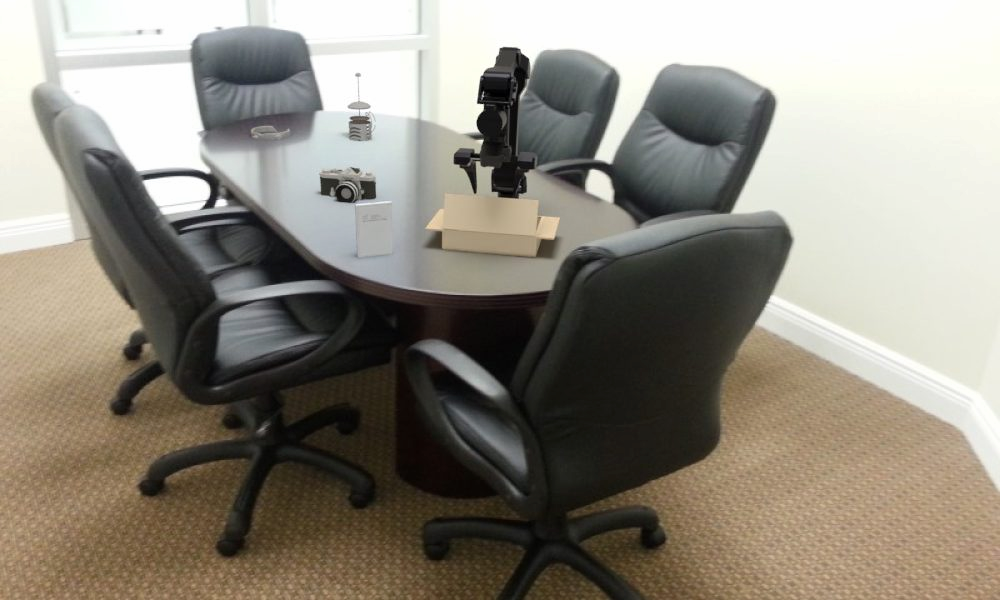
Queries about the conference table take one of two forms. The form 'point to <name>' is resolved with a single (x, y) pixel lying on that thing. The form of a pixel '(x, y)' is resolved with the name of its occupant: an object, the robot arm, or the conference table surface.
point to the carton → (495, 238)
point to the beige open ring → (269, 136)
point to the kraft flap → (490, 214)
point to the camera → (348, 184)
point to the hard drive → (374, 228)
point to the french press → (360, 120)
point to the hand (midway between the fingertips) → (494, 194)
